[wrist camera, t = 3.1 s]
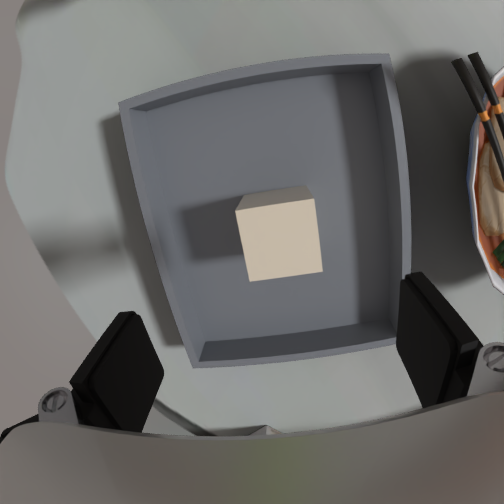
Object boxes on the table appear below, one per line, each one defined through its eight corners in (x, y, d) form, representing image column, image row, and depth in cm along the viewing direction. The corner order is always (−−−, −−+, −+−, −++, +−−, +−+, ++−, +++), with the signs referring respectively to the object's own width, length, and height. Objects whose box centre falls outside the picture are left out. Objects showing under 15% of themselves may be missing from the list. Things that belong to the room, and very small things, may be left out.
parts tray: (373, 64, 20) (389, 53, 17) (393, 318, 28) (405, 341, 25) (139, 106, 23) (118, 102, 19) (201, 343, 31) (192, 368, 27)
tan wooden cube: (306, 185, 24) (314, 198, 19) (314, 244, 26) (322, 271, 20) (244, 194, 24) (235, 210, 19) (255, 252, 26) (249, 281, 21)
